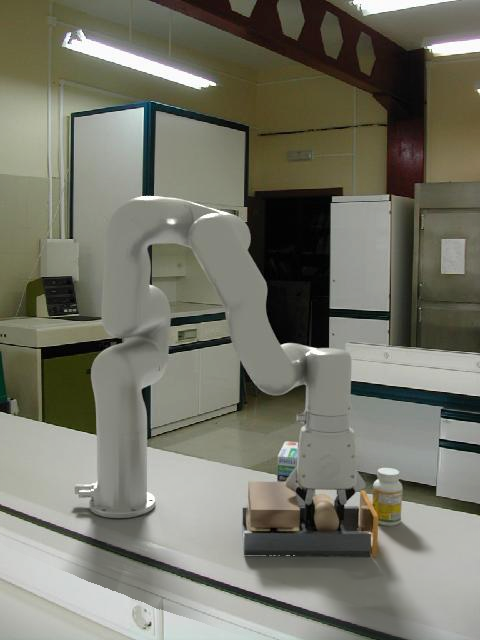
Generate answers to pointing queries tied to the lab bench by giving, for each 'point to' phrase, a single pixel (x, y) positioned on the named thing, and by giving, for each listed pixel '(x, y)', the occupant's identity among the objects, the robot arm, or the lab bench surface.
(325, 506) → the loose roller
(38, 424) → the lab bench surface
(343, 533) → the roller frame
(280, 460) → the light bulb box
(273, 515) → the walnut slab
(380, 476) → the supplement bottle
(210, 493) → the lab bench surface
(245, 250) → the robot arm
